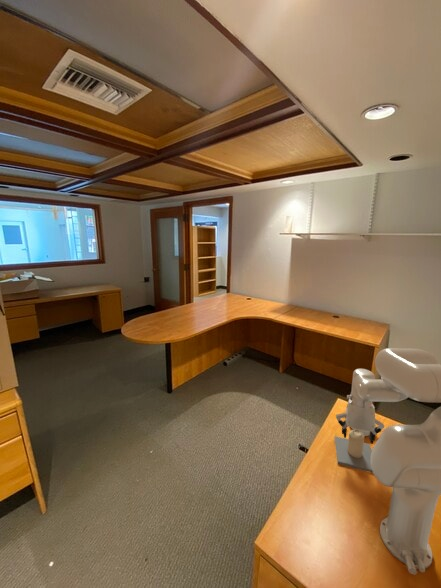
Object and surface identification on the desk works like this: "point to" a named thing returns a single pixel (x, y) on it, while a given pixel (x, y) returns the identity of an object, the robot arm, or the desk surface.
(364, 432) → the small box
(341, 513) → the desk surface
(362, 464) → the slate coaster
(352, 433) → the candle
